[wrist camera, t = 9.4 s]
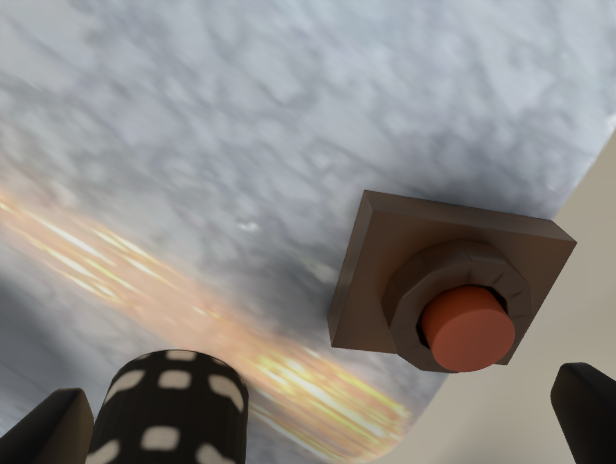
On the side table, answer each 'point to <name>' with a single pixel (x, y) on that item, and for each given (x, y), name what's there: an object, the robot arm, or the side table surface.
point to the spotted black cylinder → (172, 413)
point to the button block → (437, 271)
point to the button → (467, 328)
